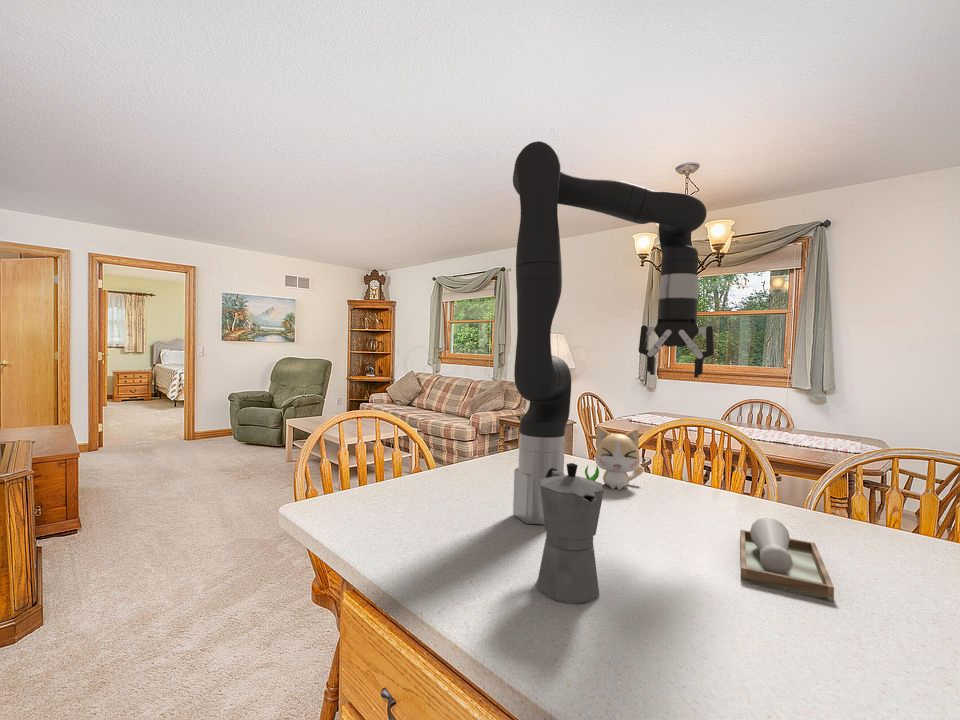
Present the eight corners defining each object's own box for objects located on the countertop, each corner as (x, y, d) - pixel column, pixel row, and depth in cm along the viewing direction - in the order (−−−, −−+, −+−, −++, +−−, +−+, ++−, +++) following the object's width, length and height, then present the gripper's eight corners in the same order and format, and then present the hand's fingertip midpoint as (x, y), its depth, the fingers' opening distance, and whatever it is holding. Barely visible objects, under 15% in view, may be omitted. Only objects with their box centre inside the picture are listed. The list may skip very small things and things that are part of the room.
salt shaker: (778, 509, 83) (789, 541, 71) (793, 540, 82) (807, 577, 70) (743, 517, 85) (748, 549, 74) (757, 548, 85) (765, 585, 73)
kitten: (583, 488, 119) (586, 429, 118) (584, 478, 128) (586, 423, 128) (646, 494, 115) (648, 433, 115) (642, 483, 125) (644, 427, 125)
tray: (833, 601, 66) (834, 587, 66) (740, 580, 72) (741, 567, 72) (814, 554, 82) (814, 542, 82) (739, 540, 88) (740, 529, 88)
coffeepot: (621, 609, 63) (625, 474, 62) (554, 616, 60) (559, 476, 60) (572, 559, 78) (576, 450, 77) (517, 563, 76) (521, 451, 75)
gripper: (638, 296, 98) (635, 374, 98) (715, 295, 91) (711, 379, 91) (645, 300, 104) (641, 373, 105) (717, 299, 98) (713, 377, 98)
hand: (674, 376), depth 98 cm, fingers open, 8 cm apart
